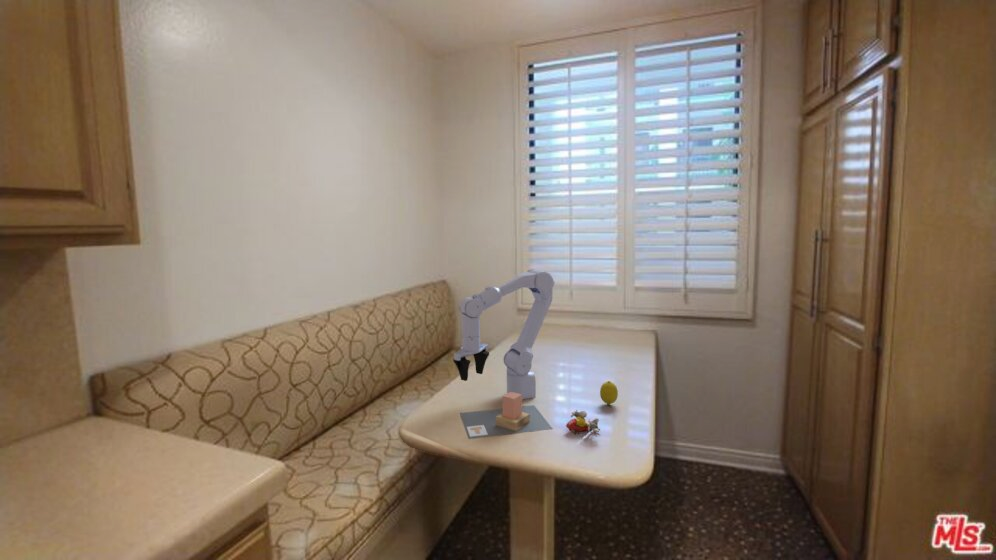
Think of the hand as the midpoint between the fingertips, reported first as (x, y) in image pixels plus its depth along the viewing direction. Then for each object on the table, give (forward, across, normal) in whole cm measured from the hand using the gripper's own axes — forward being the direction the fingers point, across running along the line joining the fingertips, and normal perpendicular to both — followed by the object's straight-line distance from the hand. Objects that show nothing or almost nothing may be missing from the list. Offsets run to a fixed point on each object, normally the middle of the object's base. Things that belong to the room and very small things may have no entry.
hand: (471, 376), depth 141 cm
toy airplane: (+10, -5, +37) cm, 39 cm away
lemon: (+10, -26, +35) cm, 45 cm away
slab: (+9, +4, +19) cm, 21 cm away
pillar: (+7, +4, +19) cm, 20 cm away
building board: (+10, +4, +16) cm, 19 cm away
